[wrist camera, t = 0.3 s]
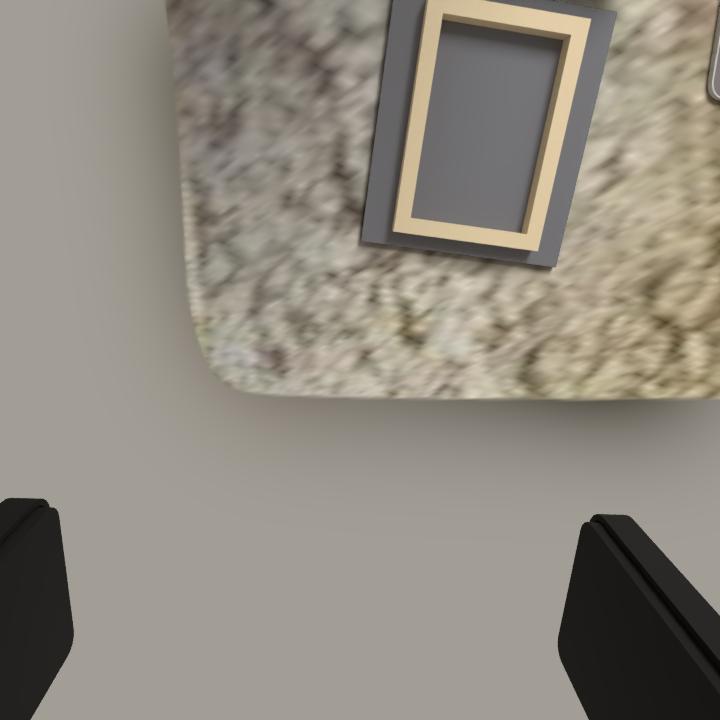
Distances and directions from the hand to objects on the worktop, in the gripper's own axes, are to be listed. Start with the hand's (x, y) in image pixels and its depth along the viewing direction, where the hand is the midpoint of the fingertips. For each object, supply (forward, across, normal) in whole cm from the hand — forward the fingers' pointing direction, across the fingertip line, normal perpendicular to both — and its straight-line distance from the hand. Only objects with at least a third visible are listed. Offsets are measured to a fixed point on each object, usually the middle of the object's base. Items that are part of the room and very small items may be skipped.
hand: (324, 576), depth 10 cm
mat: (+30, -9, -11) cm, 33 cm away
